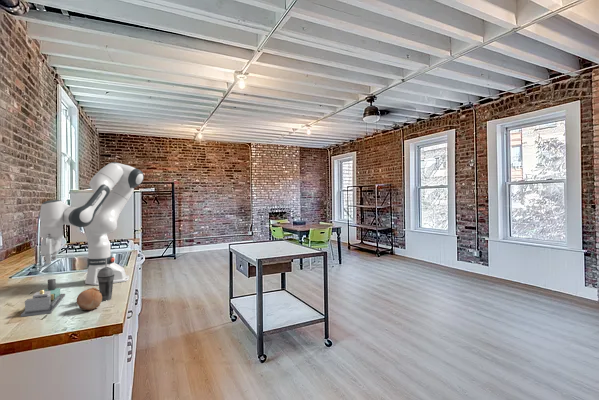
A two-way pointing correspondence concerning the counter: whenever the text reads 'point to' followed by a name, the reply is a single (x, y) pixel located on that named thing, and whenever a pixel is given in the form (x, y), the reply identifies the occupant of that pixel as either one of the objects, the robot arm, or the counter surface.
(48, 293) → the housing
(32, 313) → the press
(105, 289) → the beverage cup
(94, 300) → the onion
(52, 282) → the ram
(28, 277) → the counter surface
